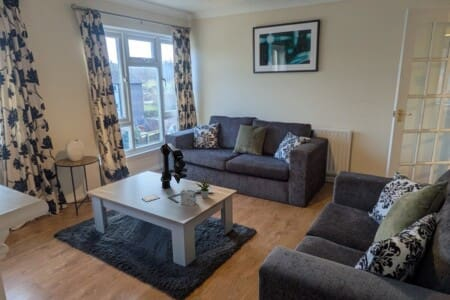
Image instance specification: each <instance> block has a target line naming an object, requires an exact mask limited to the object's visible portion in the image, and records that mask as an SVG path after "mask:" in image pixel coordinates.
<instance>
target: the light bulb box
mask: <svg viewBox="0 0 450 300" xmlns="http://www.w3.org/2000/svg"><path fill="white" fill-rule="evenodd" d="M180 193H181V195H180V205H183V206H194V205H196V204H197V190H196V189H185V188H184V189H181V191H180ZM180 193H179V194H180Z"/></svg>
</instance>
